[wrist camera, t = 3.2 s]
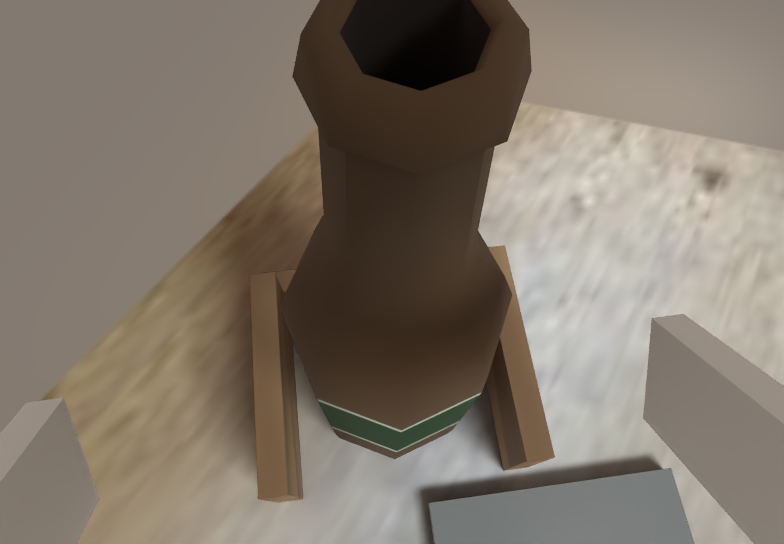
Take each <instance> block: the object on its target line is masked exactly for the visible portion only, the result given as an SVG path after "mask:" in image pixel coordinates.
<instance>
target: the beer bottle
mask: <svg viewBox="0 0 784 544" xmlns="http://www.w3.org/2000/svg"><path fill="white" fill-rule="evenodd" d="M530 73H531V55H530V39H529V29H528V27H527V26H526V25H525V23H524V22H523V21H522V19H521V18H520V16H519V15H518V14H517V12H516V11H515V10H514V8H513V7H512V6H511V4H510V3H509V2H508V0H320V2H319V3H318V5H317V7H316V8H315V10H314V12H313V14H312V15H311V17H310V19H309V21H308V22H307V24H306V26H305V27H304V29H303V31H302V33H301V36H300V41H299V46H298V51H297V56H296V61H295V66H294V72H293V78H294V80H295V82H296V84H297V86H298V88H299V90H300V92H301V94H302V96H303V98H304V100H305V102H306V104H307V106H308V108H309V110H310V112H311V114H312V116H313V118H314V120H315V122H316V124H317V126H318V131H319V147H320V163H321V178H322V194H323V209H324V216H322V218H321V220H320V222H319V223H318V225H317V227H316V229H315V231H314V233H313V235H312V237H311V239H310V242H309V244H308V246H307V248H306V250H305V252H304V254H303V256H302V258H301V261H300V263H299V265H298V267H297V269H296V271H295V273H294V275H293V277H292V280H291V282H290V284H289V286H288V288H287V290H286V292H285V294H284V296H283V299H282V301H281V307H282V311H283V315H284V319H285V322H286V325H287V327H288V330H289V332H290V335H291V337H292V339H293V342H294V344H295V347H296V349H297V352H298V354H299V357H300V359H301V361H302V364H303V366H304V369H305V371H306V374H307V376H308V378H309V381H310V383H311V386H312V388H313V391H314V393H315V395H316V398H317V400H318V402H319V404H320V406H321V407H322V409H323V411H324V413H325V415H326V417H327V419H328V420H329V422H330V424H331V426H332V428H333V430H334V432H335V433H336V435H337V436H338V437H339V438H341V439H344V440H346V441H349V442H351V443H354V444H357V445H359V446H362V447H365V448H367V449H370V450H372V451H375V452H378V453H380V454H383V455H385V456H388V457H391V458H393V459H396V458H398V457H400V456H402V455H404V454H406V453H408V452H410V451H412V450H414V449H416V448H418V447H420V446H423V445H425V444H427V443H429V442H431V441H433V440H435V439H437V438H439V437H441V436H443V435H445V434H447V433H449V432H450V431H452V430H453V428H454V427H455V426H456V425H457V423H458V422H459V421H460V419H461V418H462V417H463V416H464V414H465V413H466V412H467V411H468V409H469V408H470V407H471V405H472V404H473V403H474V402H475V400H476V399H477V398H478V396H479V395H480V394H481V393H482V391H483V388H484V385H485V383H486V380H487V378H488V375H489V371H490V368H491V365H492V361H493V358H494V355H495V351H496V348H497V345H498V341H499V338H500V335H501V331H502V328H503V325H504V321H505V318H506V315H507V311H508V308H509V305H510V301H511V298H512V292H511V290H510V288H509V285H508V283H507V280H506V278H505V276H504V274H503V272H502V271H501V269H500V267H499V265H498V264H497V262H496V260H495V259H494V257H493V255H492V254H491V252H490V250H489V248H488V247H487V245H486V243H485V242H484V240H483V238H482V237H481V235H480V233H479V231H478V227H479V222H480V217H481V212H482V207H483V202H484V197H485V192H486V187H487V182H488V177H489V172H490V167H491V162H492V157H493V152H494V147H495V146H497V145H499V144H502V143H504V142H507V140H508V138H509V135H510V132H511V129H512V126H513V123H514V120H515V117H516V114H517V111H518V109H519V106H520V103H521V100H522V97H523V94H524V91H525V88H526V85H527V82H528V79H529V76H530Z"/></svg>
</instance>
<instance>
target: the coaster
mask: <svg viewBox="0 0 784 544" xmlns="http://www.w3.org/2000/svg"><path fill="white" fill-rule="evenodd" d="M428 508H429V515H430V522H431V528H432V535H433V542H434V544H694V541H693V538H692V534H691V531H690V528H689V525H688V521H687V518H686V515H685V512H684V509H683V505H682V502H681V499H680V496H679V492H678V489H677V486H676V483H675V480H674V476H673V473H672V470H671V468H668V469H661V470H654V471H647V472H640V473H633V474H626V475H620V476H613V477H606V478H599V479H592V480H585V481H578V482H571V483H564V484H557V485H550V486H543V487H536V488H530V489H523V490H516V491H509V492H502V493H495V494H488V495H481V496H474V497H467V498H460V499H453V500H446V501H440V502H433V503H428Z"/></svg>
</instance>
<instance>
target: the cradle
mask: <svg viewBox="0 0 784 544" xmlns="http://www.w3.org/2000/svg"><path fill="white" fill-rule="evenodd" d="M488 248H489V250H490V252H491V254H492V255H493V257H494V259H495V260H496V262H497V264H498V265H499V267H500V269H501V271H502V272H503V274H504V276H505V278H506V280H507V283H508V285H509V288H510V290H511V292H512V298H511V301H510V305H509V308H508V311H507V315H506V318H505V321H504V325H503V328H502V331H501V335H500V338H499V341H498V345H497V348H496V351H495V355H494V358H493V361H492V365H491V368H490V371H489V375H488V378H487V380H486V385H487V390H488V395H489V400H490V405H491V410H492V415H493V420H494V425H495V430H496V435H497V440H498V445H499V450H500V455H501V460H502V465H503V470H504V471H505V470H512V469H519V468H526V467H529V466H532V465H535V464H538V463H540V462H543V461H546V460H549V459H551V458H554V457H555V456H554V452H553V448H552V443H551V439H550V435H549V431H548V427H547V422H546V418H545V414H544V410H543V405H542V401H541V397H540V393H539V388H538V384H537V380H536V376H535V371H534V367H533V363H532V359H531V354H530V350H529V346H528V342H527V337H526V333H525V329H524V325H523V320H522V316H521V312H520V308H519V303H518V299H517V295H516V291H515V286H514V282H513V278H512V274H511V269H510V265H509V261H508V257H507V253H506V248H505V245H504V246H496V247H488ZM295 271H296V269H293V270H284V271H276V272H267V273H259V274H251V275H250V298H251V324H252V350H253V377H254V403H255V429H256V456H257V482H258V499H260V500H266V501H272V502H278V503H279V502H286V501H293V500H300V499H303V487H302V473H301V458H300V443H299V428H298V413H297V398H296V383H295V368H294V353H293V339H292V337H291V335H290V332H289V330H288V327H287V325H286V322H285V319H284V315H283V311H282V307H281V301H282V299H283V296H284V294H285V292H286V290H287V288H288V286H289V284H290V282H291V280H292V277H293V275H294V273H295Z"/></svg>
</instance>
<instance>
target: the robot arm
mask: <svg viewBox="0 0 784 544" xmlns="http://www.w3.org/2000/svg"><path fill="white" fill-rule="evenodd" d="M643 418H644V420H645V421H646V422H647V423H648V424H649V425H650V426H651V427H652V429H653V430H654V431H655V432H656V433H657V434H658V435H659V437H660V438H661V439H662V440H663V441H664V442H665V443H666V444H667V446H668V447H669V448H670V449H671V450H672V451H673V452H674V454H675V455H676V456H677V457H678V458H679V459H680V460H681V461H682V463H683V464H684V465H685V466H686V467H687V468H688V469H689V470H690V472H691V473H692V474H693V475H694V476H695V477H696V478H697V480H698V481H699V482H700V483H701V484H702V485H703V486H704V487H705V489H706V490H707V491H708V492H709V493H710V494H711V495H712V497H713V498H714V499H715V500H716V501H717V502H718V503H719V504H720V506H721V507H722V508H723V509H724V510H725V511H726V512H727V514H728V515H729V516H730V517H731V518H732V519H733V520H734V521H735V523H736V524H737V525H738V526H739V527H740V528H741V529H742V531H743V532H744V533H745V534H746V535H747V536H748V537H749V538H750V540H751V541H752V542H753V543H754V544H784V386H783V385H782V384H780V383H779V382H777V381H776V380H775V379H773V378H772V377H770V376H769V375H768V374H766V373H765V372H763V371H762V370H761V369H759V368H758V367H757V366H755V365H754V364H752V363H751V362H750V361H748V360H747V359H745V358H744V357H743V356H741V355H740V354H738V353H737V352H736V351H734V350H733V349H731V348H730V347H729V346H727V345H726V344H725V343H723V342H722V341H720V340H719V339H718V338H716V337H715V336H713V335H712V334H711V333H709V332H708V331H706V330H705V329H704V328H702V327H701V326H699V325H698V324H697V323H695V322H694V321H693V320H691V319H690V318H688V317H687V316H686V315H684V314H680V315H673V316H665V317H658V318H652V323H651V335H650V346H649V358H648V369H647V381H646V392H645V404H644V415H643ZM98 500H99V497H98V494H97V491H96V488H95V485H94V482H93V479H92V477H91V474H90V471H89V468H88V465H87V462H86V459H85V457H84V454H83V451H82V448H81V445H80V442H79V439H78V437H77V434H76V431H75V428H74V425H73V422H72V420H71V417H70V414H69V411H68V408H67V405H66V402H65V400H64V398H57V399H50V400H43V401H35V402H28V403H26V404H25V405H24V406H23V407H22V409H21V410H20V411H19V412H18V413H17V415H16V416H15V417H14V418H13V419H12V421H11V422H10V423H9V424H8V425H7V426H6V428H5V429H4V430H3V431H2V432H1V433H0V544H77V542H78V540H79V538H80V536H81V534H82V532H83V530H84V528H85V526H86V524H87V522H88V520H89V518H90V516H91V514H92V512H93V510H94V508H95V506H96V504H97V502H98Z"/></svg>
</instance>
